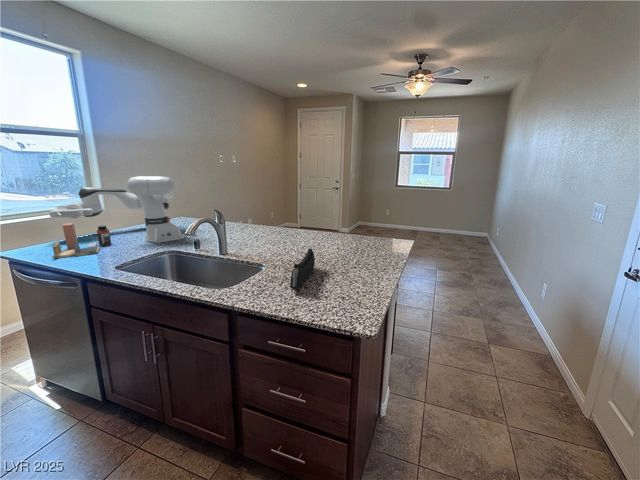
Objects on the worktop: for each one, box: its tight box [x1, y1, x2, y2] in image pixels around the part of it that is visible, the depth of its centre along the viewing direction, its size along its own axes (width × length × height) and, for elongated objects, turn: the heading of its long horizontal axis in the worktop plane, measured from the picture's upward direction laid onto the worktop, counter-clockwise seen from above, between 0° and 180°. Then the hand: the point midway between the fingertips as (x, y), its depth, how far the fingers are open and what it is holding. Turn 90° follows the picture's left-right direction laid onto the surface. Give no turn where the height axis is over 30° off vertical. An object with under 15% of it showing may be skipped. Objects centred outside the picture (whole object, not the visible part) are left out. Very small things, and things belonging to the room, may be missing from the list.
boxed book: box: [62, 222, 78, 250], centre depth 173 cm, size 4×6×14 cm
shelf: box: [52, 242, 100, 259], centre depth 165 cm, size 19×10×6 cm, turn 119°
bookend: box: [73, 240, 88, 254], centre depth 165 cm, size 5×8×5 cm, turn 29°
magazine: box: [289, 247, 315, 292], centre depth 135 cm, size 17×3×30 cm
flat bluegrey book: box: [86, 241, 99, 252], centre depth 169 cm, size 4×8×3 cm, turn 29°
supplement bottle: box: [96, 224, 112, 247], centre depth 181 cm, size 6×6×11 cm
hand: (69, 214), depth 180 cm, fingers open, 8 cm apart
